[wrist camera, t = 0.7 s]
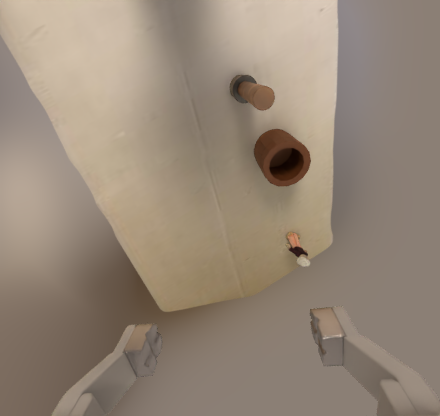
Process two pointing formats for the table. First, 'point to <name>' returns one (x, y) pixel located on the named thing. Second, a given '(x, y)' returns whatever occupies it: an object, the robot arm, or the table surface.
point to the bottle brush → (251, 92)
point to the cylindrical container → (281, 157)
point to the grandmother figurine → (297, 249)
